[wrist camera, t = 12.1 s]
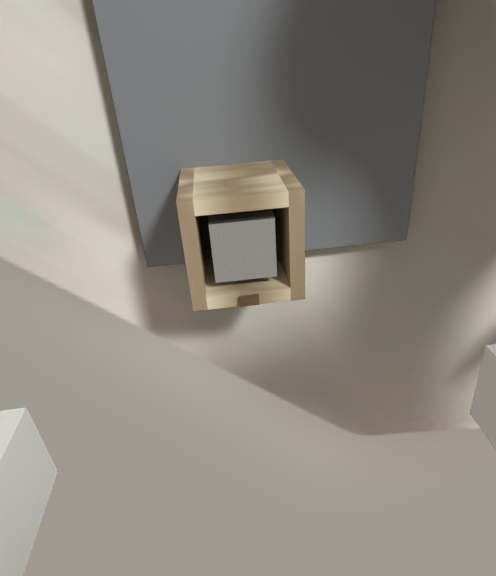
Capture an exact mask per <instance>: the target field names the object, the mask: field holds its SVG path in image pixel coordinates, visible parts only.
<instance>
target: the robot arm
mask: <svg viewBox="0 0 496 576" xmlns="http://www.w3.org/2000/svg"><path fill="white" fill-rule="evenodd" d="M470 414H471V416H472V417H473V418H474V420H475V421H476V423H477V424H478V425H479V427H480V428H481V430H482V431H483V432H484V434H485V435H486V436H487V438H488V439H489V441H490V442H491V444H492V445H493V446H494V448H495V449H496V344H491V345H486V346H485V350H484V355H483V359H482V363H481V368H480V372H479V376H478V381H477V385H476V390H475V394H474V398H473V403H472V407H471V411H470ZM56 474H57V469H56V467H55V465H54V463H53V461H52V459H51V457H50V455H49V453H48V451H47V449H46V447H45V445H44V443H43V441H42V439H41V437H40V435H39V433H38V431H37V429H36V426H35V424H34V422H33V421H32V418H31V416H30V414H29V412H28V410H27V409H26V408H19V409H12V410H4V411H0V576H23V573H24V570H25V567H26V564H27V561H28V558H29V555H30V552H31V549H32V546H33V543H34V540H35V537H36V534H37V531H38V528H39V525H40V522H41V519H42V516H43V513H44V510H45V507H46V504H47V501H48V498H49V495H50V492H51V490H52V487H53V483H54V481H55V478H56Z"/></svg>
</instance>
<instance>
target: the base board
mask: <svg viewBox="0 0 496 576" xmlns="http://www.w3.org/2000/svg"><path fill="white" fill-rule="evenodd" d="M92 2H93V7H94V11H95V16H96V21H97V26H98V31H99V35H100V40H101V45H102V50H103V55H104V60H105V64H106V69H107V74H108V79H109V84H110V88H111V93H112V98H113V103H114V108H115V113H116V117H117V122H118V127H119V132H120V137H121V141H122V146H123V151H124V156H125V161H126V166H127V170H128V175H129V180H130V185H131V190H132V195H133V199H134V204H135V209H136V214H137V219H138V223H139V228H140V233H141V238H142V243H143V248H144V252H145V257H146V262H147V267H153V266H162V265H172V264H181V263H186V262H185V256H184V250H183V243H182V237H181V231H180V224H179V218H178V211H177V205H176V199H177V192H178V185H179V178H180V171H181V169H185V168H195V167H206V166H217V165H228V164H238V163H249V162H260V161H271V160H281V159H283V160H284V161H285V163H286V164H287V165H288V167H289V168H290V170H291V171H292V172H293V174H294V175H295V177H296V178H297V179H298V181H299V182H300V184H301V185H302V186H303V188H304V189H305V250H315V249H325V248H334V247H344V246H353V245H363V244H372V243H382V242H391V241H401V240H406V237H407V229H408V221H409V213H410V205H411V197H412V189H413V181H414V173H415V165H416V157H417V149H418V141H419V133H420V125H421V117H422V109H423V101H424V93H425V85H426V77H427V69H428V61H429V53H430V45H431V37H432V29H433V21H434V13H435V5H436V0H92ZM271 210H272V209H271ZM200 217H201V224H202V232H203V240H204V248H205V249H211V241H210V233H209V224H208V215H203V216H200Z"/></svg>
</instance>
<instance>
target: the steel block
mask: <svg viewBox="0 0 496 576" xmlns="http://www.w3.org/2000/svg"><path fill="white" fill-rule="evenodd" d="M208 224H209V233H210V241H211V249H212V257H213V266H214V274H215V282H216V283H220V282H229V281H239V280H248V279H257V278H267V277H276V276H277V261H276V235H275V217H274V215H273V213H272V210H271V209H264V210H254V211H244V212H234V213H224V214H214V215H208Z"/></svg>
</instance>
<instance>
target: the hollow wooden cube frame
mask: <svg viewBox="0 0 496 576" xmlns="http://www.w3.org/2000/svg"><path fill="white" fill-rule="evenodd" d="M176 205H177V211H178V218H179V224H180V231H181V237H182V243H183V250H184V256H185V262H186V269H187V275H188V282H189V288H190V294H191V301H192V307H193V311H201V310H210V309H219V308H228V307H237V306H240V307H242V306H251V305H259V304H264V303H273V302H282V301H291V300H300V299H305V189H304V188H303V186H302V185H301V184H300V182H299V181H298V179H297V178H296V177H295V175H294V174H293V172H292V171H291V170H290V168H289V167H288V165H287V164H286V163H285V161H284V160H283V159H281V160H271V161H260V162H249V163H238V164H228V165H217V166H206V167H195V168H185V169H181V171H180V178H179V185H178V192H177V199H176ZM264 209H272V213H273V215H274V217H275V235H276V261H277V276H276V277H267V278H257V279H248V280H239V281H229V282H220V283H216V282H215V274H214V266H213V257H212V249H205V248H204V240H203V232H202V224H201V217H200V216H203V215H214V214H224V213H234V212H244V211H254V210H264Z"/></svg>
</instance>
